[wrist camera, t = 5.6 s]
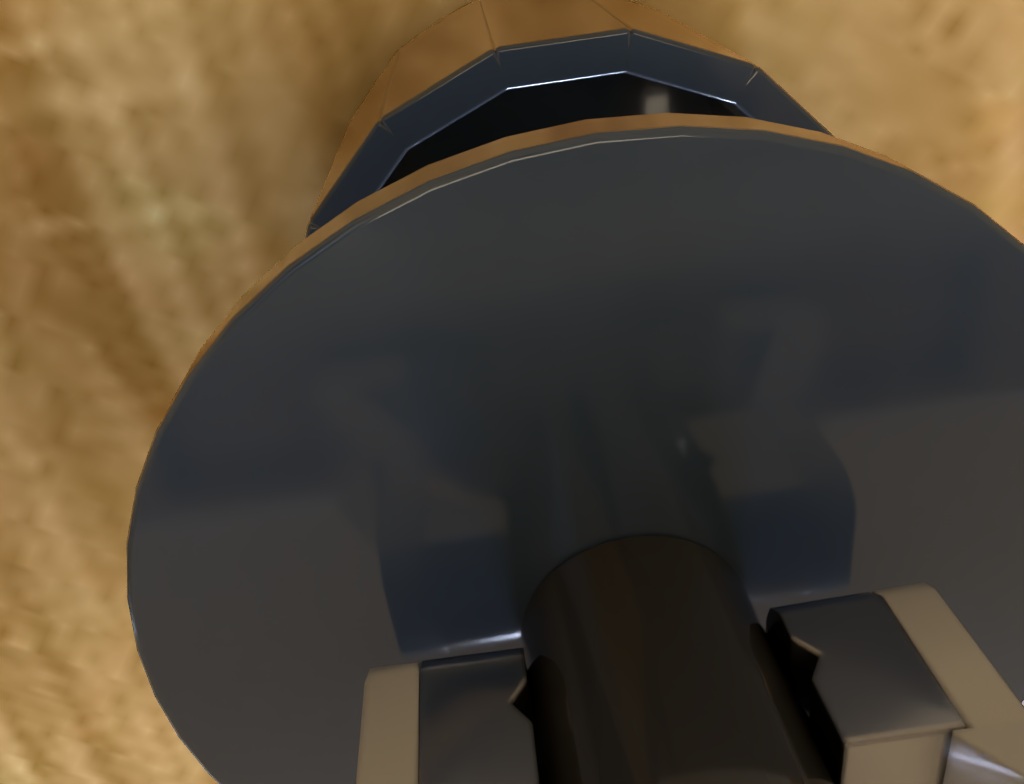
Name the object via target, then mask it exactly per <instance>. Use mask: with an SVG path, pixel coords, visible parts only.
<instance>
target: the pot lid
mask: <svg viewBox="0 0 1024 784" xmlns="http://www.w3.org/2000/svg"><path fill="white" fill-rule="evenodd" d="M126 551H127V599H128V605H129V610H130V615H131V620H132V625H133V630H134V636H135V641H136V646H137V651H138V654H139V656H140V659H141V661H142V664H143V667H144V669H145V672H146V674H147V677H148V680H149V682H150V685H151V687H152V690H153V693H154V695H155V697H156V699H157V701H158V703H159V704H160V706H161V708H162V709H163V711H164V713H165V714H166V716H167V718H168V720H169V721H170V723H171V725H172V726H173V728H174V730H175V731H176V733H177V735H178V737H179V738H180V739H181V741H182V742H183V743H184V744H185V745H186V747H187V748H188V749H189V750H190V752H191V753H192V754H193V755H194V756H195V758H196V759H197V760H198V761H199V763H200V764H201V765H202V766H203V767H204V769H205V770H206V771H207V772H208V774H209V775H210V776H211V777H213V778H214V779H215V780H216V781H217V782H218V783H219V784H356V778H357V766H358V754H359V743H360V731H361V719H362V707H363V696H364V684H365V681H366V678H367V675H368V673H369V670H370V668H376V667H384V666H392V665H400V664H407V663H415V662H422V661H423V660H430V659H438V658H446V657H454V656H461V655H469V654H477V653H484V652H492V651H500V650H507V649H515V648H523V649H524V655H525V660H526V665H527V670H528V678H529V685H530V692H531V700H532V707H533V714H534V721H535V729H534V735H535V741H536V746H537V752H538V757H539V763H540V768H541V777H542V784H835V781H834V779H833V777H832V775H831V773H830V771H829V768H828V766H827V764H826V762H825V760H824V758H823V755H822V753H821V751H820V749H819V747H818V745H817V742H816V740H815V738H814V736H813V734H812V732H811V729H810V727H809V725H808V723H807V721H806V719H805V716H804V714H803V712H802V710H801V708H800V706H799V703H798V701H797V699H796V697H795V695H794V693H793V690H792V688H791V686H790V684H789V682H788V680H787V677H786V675H785V673H784V671H783V669H782V667H781V664H780V662H779V660H778V658H777V656H776V654H775V651H774V649H773V647H772V645H771V643H770V641H769V638H768V636H767V634H766V617H767V615H768V612H769V609H770V608H773V607H779V606H785V605H791V604H797V603H803V602H809V601H815V600H821V599H827V598H833V597H839V596H845V595H851V594H857V593H863V592H869V593H871V592H873V591H876V590H882V589H888V588H894V587H901V586H907V585H913V584H919V583H926V584H928V585H929V586H931V587H933V588H934V589H936V591H937V592H938V593H939V595H940V596H941V597H942V599H943V600H944V601H945V602H946V604H947V605H948V606H949V608H950V609H951V610H952V612H953V613H954V614H955V616H956V617H957V618H958V620H959V621H960V622H961V624H962V625H963V626H964V628H965V629H966V630H967V632H968V633H969V634H970V636H971V637H972V638H973V640H974V641H975V642H976V644H977V645H978V646H979V648H980V649H981V650H982V652H983V653H984V654H985V656H986V657H987V658H988V660H989V661H990V662H991V664H992V665H993V666H994V668H995V669H996V670H997V672H998V673H999V674H1000V676H1001V677H1002V678H1003V680H1004V681H1005V682H1006V684H1007V685H1008V686H1009V687H1010V689H1011V690H1012V691H1013V693H1014V694H1015V695H1016V697H1017V698H1018V699H1019V701H1020V702H1021V703H1022V701H1023V700H1024V244H1023V243H1021V242H1020V241H1019V240H1018V239H1016V238H1015V237H1014V236H1013V235H1012V234H1010V233H1009V232H1008V231H1007V230H1005V229H1004V228H1003V227H1002V226H1000V225H999V224H998V223H997V222H995V221H994V220H993V219H992V218H991V217H989V216H988V215H987V214H986V213H984V212H983V211H982V210H981V209H979V208H978V207H977V206H976V205H974V204H973V203H971V202H969V201H967V200H965V199H964V198H962V197H960V196H958V195H956V194H955V193H953V192H951V191H949V190H947V189H946V188H944V187H942V186H940V185H938V184H937V183H935V182H933V181H931V180H929V179H928V178H926V177H924V176H922V175H921V174H919V173H917V172H915V171H913V170H912V169H910V168H908V167H906V166H904V165H902V164H901V163H899V162H897V161H895V160H893V159H892V158H890V157H888V156H885V155H883V154H880V153H877V152H874V151H871V150H869V149H866V148H863V147H860V146H858V145H855V144H852V143H849V142H847V141H844V140H841V139H838V138H836V137H833V136H830V135H827V134H825V133H822V132H818V131H813V130H808V129H803V128H798V127H793V126H788V125H783V124H778V123H773V122H768V121H763V120H758V119H753V118H748V117H735V116H717V115H699V114H681V113H658V114H645V115H633V116H621V117H609V118H597V119H585V120H581V121H576V122H572V123H567V124H562V125H558V126H553V127H549V128H544V129H539V130H535V131H530V132H526V133H521V134H517V135H512V136H507V137H504V138H501V139H498V140H495V141H493V142H490V143H487V144H484V145H482V146H479V147H476V148H473V149H471V150H468V151H465V152H462V153H460V154H457V155H454V156H451V157H448V158H446V159H443V160H440V161H437V162H435V163H432V164H429V165H427V166H425V167H423V168H421V169H419V170H417V171H415V172H413V173H412V174H410V175H408V176H406V177H404V178H402V179H400V180H398V181H396V182H394V183H392V184H390V185H388V186H387V187H385V188H383V189H381V190H379V191H377V192H375V193H373V194H371V195H369V196H367V197H365V198H364V199H362V200H360V201H358V202H356V203H355V204H353V205H352V206H351V207H349V208H348V209H346V210H345V211H344V212H342V213H341V214H339V215H338V216H336V217H335V218H334V219H332V220H331V221H329V222H328V223H327V224H325V225H324V226H322V227H321V228H320V229H318V230H317V231H315V232H314V233H312V234H311V235H310V236H308V237H307V238H305V239H304V240H303V241H301V242H300V243H298V244H297V245H296V246H294V247H293V248H292V249H291V250H290V251H289V252H288V253H287V254H286V255H285V256H284V257H283V258H282V259H281V260H280V261H278V262H277V263H276V264H275V265H274V266H273V267H272V268H271V269H270V270H269V271H268V272H267V273H266V274H265V275H264V276H263V277H262V278H261V279H259V280H258V281H257V282H256V283H255V284H254V285H253V286H252V287H251V288H250V289H249V290H248V291H247V292H246V293H245V294H244V295H243V296H242V297H241V298H240V299H239V301H238V302H237V303H236V304H235V306H234V307H233V308H232V309H231V311H230V312H229V313H228V315H227V316H226V317H225V318H224V320H223V321H222V322H221V324H220V325H219V326H218V327H217V329H216V330H215V331H214V332H213V334H212V335H211V336H210V338H209V339H208V340H207V341H206V343H205V344H204V345H203V347H202V348H201V349H200V351H199V353H198V354H197V356H196V358H195V360H194V362H193V363H192V365H191V367H190V369H189V371H188V372H187V374H186V376H185V378H184V380H183V381H182V383H181V385H180V387H179V389H178V390H177V392H176V394H175V396H174V398H173V399H172V401H171V403H170V405H169V407H168V409H167V411H166V412H165V414H164V416H163V418H162V420H161V422H160V424H159V426H158V428H157V430H156V432H155V435H154V438H153V441H152V444H151V446H150V449H149V452H148V455H147V458H146V461H145V463H144V466H143V469H142V472H141V475H140V477H139V480H138V483H137V486H136V490H135V496H134V502H133V508H132V514H131V519H130V525H129V531H128V537H127V543H126Z"/></svg>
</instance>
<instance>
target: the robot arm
mask: <svg viewBox="0 0 1024 784" xmlns="http://www.w3.org/2000/svg"><path fill="white" fill-rule="evenodd" d="M766 634H767V636H768V638H769V641H770V643H771V645H772V647H773V649H774V651H775V654H776V656H777V658H778V660H779V662H780V664H781V667H782V669H783V671H784V673H785V675H786V677H787V680H788V682H789V684H790V686H791V688H792V690H793V693H794V695H795V697H796V699H797V701H798V703H799V706H800V708H801V710H802V712H803V714H804V716H805V719H806V721H807V723H808V725H809V727H810V729H811V732H812V734H813V736H814V738H815V740H816V742H817V745H818V747H819V749H820V751H821V753H822V755H823V758H824V760H825V762H826V764H827V766H828V768H829V771H830V773H831V775H832V777H833V779H834V781H835V784H1024V706H1023V705H1022V703H1021V702H1020V701H1019V699H1018V698H1017V697H1016V695H1015V694H1014V693H1013V691H1012V690H1011V689H1010V687H1009V686H1008V685H1007V684H1006V682H1005V681H1004V680H1003V678H1002V677H1001V676H1000V674H999V673H998V672H997V670H996V669H995V668H994V666H993V665H992V664H991V662H990V661H989V660H988V658H987V657H986V656H985V654H984V653H983V652H982V650H981V649H980V648H979V646H978V645H977V644H976V642H975V641H974V640H973V638H972V637H971V636H970V634H969V633H968V632H967V630H966V629H965V628H964V626H963V625H962V624H961V622H960V621H959V620H958V618H957V617H956V616H955V614H954V613H953V612H952V610H951V609H950V608H949V606H948V605H947V604H946V602H945V601H944V600H943V599H942V597H941V596H940V595H939V593H938V592H937V591H936V589H934V588H933V587H931V586H929V585H928V584H926V583H919V584H913V585H907V586H901V587H894V588H888V589H882V590H876V591H873V592H871V593H869V592H863V593H857V594H851V595H845V596H839V597H833V598H827V599H821V600H815V601H809V602H803V603H797V604H791V605H785V606H779V607H773V608H770V609H769V612H768V615H767V617H766ZM534 729H535V721H534V714H533V707H532V700H531V692H530V685H529V678H528V670H527V665H526V660H525V655H524V649H523V648H515V649H507V650H500V651H492V652H484V653H477V654H469V655H461V656H454V657H446V658H438V659H430V660H423V661H422V662H415V663H407V664H400V665H392V666H384V667H376V668H370V670H369V673H368V675H367V678H366V681H365V684H364V696H363V707H362V719H361V731H360V743H359V754H358V766H357V778H356V784H542V777H541V768H540V763H539V757H538V752H537V746H536V741H535V735H534Z"/></svg>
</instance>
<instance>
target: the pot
mask: <svg viewBox="0 0 1024 784" xmlns="http://www.w3.org/2000/svg"><path fill="white" fill-rule="evenodd" d="M658 113H681V114H699V115H717V116H735V117H748V118H753V119H758V120H763V121H768V122H773V123H778V124H783V125H788V126H793V127H798V128H803V129H808V130H813V131H818V132H822V133H825V134H827V135H830V136H833V135H832V134H831V133H830V132H829V131H828V130H827V129H826V128H825V127H824V126H823V125H821V124H820V123H819V122H818V121H817V120H816V119H815V118H814V117H813V116H812V115H811V114H810V113H809V112H807V111H806V110H805V109H804V108H803V107H802V106H801V105H800V104H799V103H798V102H797V101H796V100H795V99H793V98H792V97H791V96H790V95H789V94H788V93H787V92H786V91H785V90H784V89H783V88H782V87H781V86H779V85H778V84H777V83H776V82H775V81H774V80H773V79H772V78H771V77H770V76H769V75H768V74H767V73H765V72H764V71H763V70H762V69H761V68H760V67H758V66H757V65H755V64H753V63H751V62H750V61H748V60H746V59H744V58H742V57H741V56H739V55H737V54H735V53H734V52H732V51H730V50H728V49H726V48H725V47H723V46H721V45H719V44H718V43H716V42H714V41H712V40H710V39H709V38H707V37H705V36H703V35H702V34H700V33H698V32H696V31H695V30H693V29H691V28H689V27H687V26H686V25H684V24H682V23H680V22H679V21H677V20H675V19H673V18H671V17H670V16H668V15H666V14H664V13H663V12H661V11H659V10H657V9H654V8H650V7H647V6H644V5H640V4H637V3H634V2H630V1H628V0H474V1H473V2H471V3H469V4H468V5H465V6H463V7H462V8H460V9H458V10H456V11H454V12H452V13H451V14H449V15H447V16H445V17H443V18H441V19H439V20H438V21H437V22H435V23H434V24H432V25H431V26H430V27H428V28H427V29H426V30H424V31H423V32H422V33H420V34H419V35H418V36H416V37H415V38H414V39H413V40H411V41H410V42H408V43H407V44H405V45H403V46H402V47H401V49H400V50H398V51H397V52H396V54H395V55H394V57H393V58H392V60H391V61H390V63H389V64H388V65H387V67H386V68H385V70H384V71H383V72H382V74H381V75H380V76H379V78H378V79H377V80H376V81H375V83H374V85H373V86H372V88H371V90H370V92H369V93H368V95H367V97H366V98H365V100H364V101H363V103H362V104H361V106H360V107H359V109H358V110H357V112H356V113H355V115H354V116H353V118H352V119H351V121H350V123H349V126H348V128H347V130H346V133H345V135H344V138H343V140H342V143H341V145H340V147H339V150H338V152H337V155H336V157H335V159H334V162H333V164H332V167H331V169H330V172H329V174H328V176H327V179H326V181H325V184H324V186H323V188H322V191H321V193H320V196H319V198H318V201H317V203H316V205H315V208H314V210H313V213H312V215H311V218H310V220H309V223H308V225H307V229H306V235H305V238H307V237H308V236H310V235H311V234H312V233H314V232H315V231H317V230H318V229H320V228H321V227H322V226H324V225H325V224H327V223H328V222H329V221H331V220H332V219H334V218H335V217H336V216H338V215H339V214H341V213H342V212H344V211H345V210H346V209H348V208H349V207H351V206H352V205H353V204H355V203H356V202H358V201H360V200H362V199H364V198H365V197H367V196H369V195H371V194H373V193H375V192H377V191H379V190H381V189H383V188H385V187H387V186H388V185H390V184H392V183H394V182H396V181H398V180H400V179H402V178H404V177H406V176H408V175H410V174H412V173H413V172H415V171H417V170H419V169H421V168H423V167H425V166H427V165H429V164H432V163H435V162H437V161H440V160H443V159H446V158H448V157H451V156H454V155H457V154H460V153H462V152H465V151H468V150H471V149H473V148H476V147H479V146H482V145H484V144H487V143H490V142H493V141H495V140H498V139H501V138H504V137H507V136H512V135H517V134H521V133H526V132H530V131H535V130H539V129H544V128H549V127H553V126H558V125H562V124H567V123H572V122H576V121H581V120H585V119H597V118H609V117H621V116H633V115H645V114H658ZM833 137H834V136H833Z"/></svg>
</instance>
